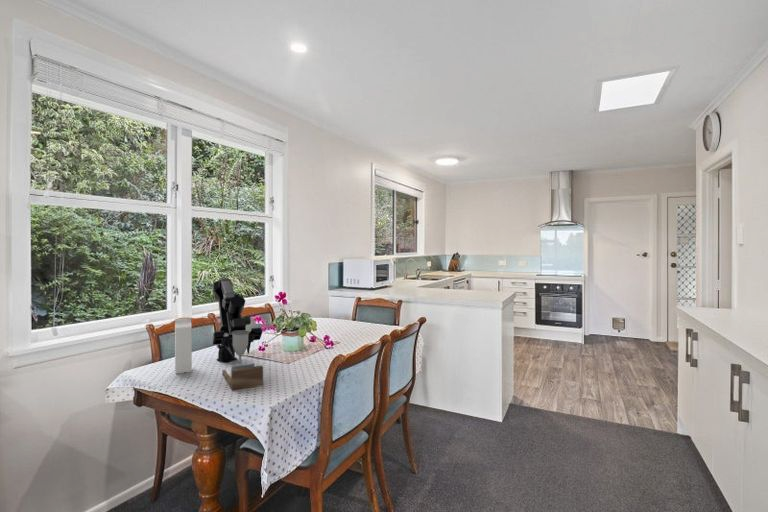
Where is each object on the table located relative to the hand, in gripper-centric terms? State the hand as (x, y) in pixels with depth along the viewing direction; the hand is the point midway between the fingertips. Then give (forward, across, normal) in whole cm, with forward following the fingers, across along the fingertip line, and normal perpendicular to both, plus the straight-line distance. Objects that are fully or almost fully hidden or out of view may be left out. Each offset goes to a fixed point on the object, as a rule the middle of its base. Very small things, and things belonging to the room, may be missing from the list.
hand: (240, 353), depth 157 cm
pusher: (+10, 0, +4) cm, 10 cm away
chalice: (+6, 0, +8) cm, 10 cm away
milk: (-8, -19, +22) cm, 30 cm away
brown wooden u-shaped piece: (+8, 0, +6) cm, 10 cm away
